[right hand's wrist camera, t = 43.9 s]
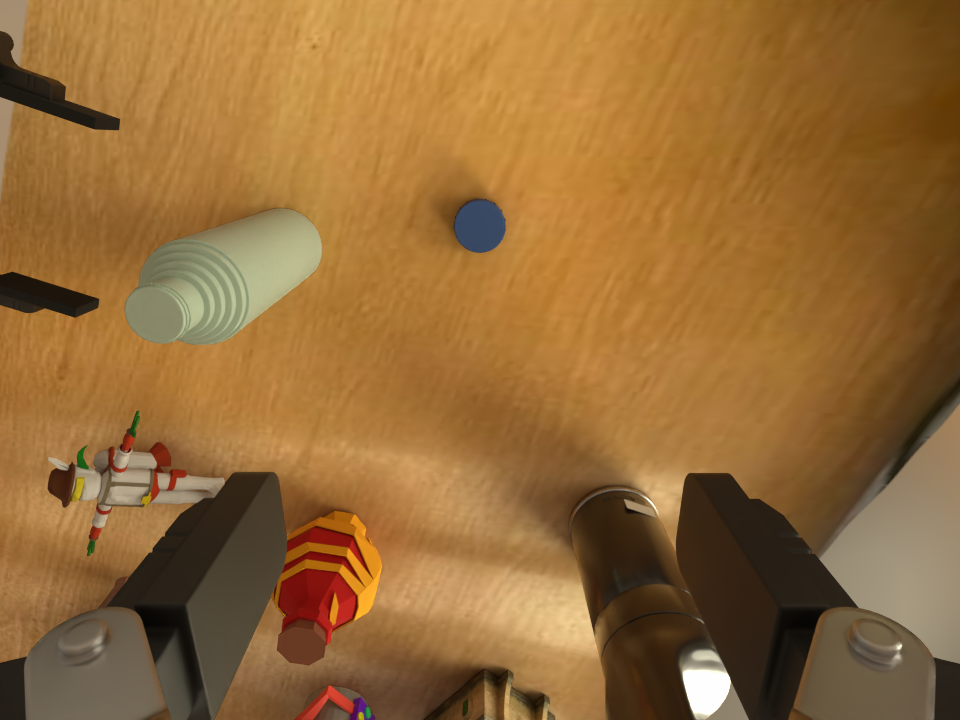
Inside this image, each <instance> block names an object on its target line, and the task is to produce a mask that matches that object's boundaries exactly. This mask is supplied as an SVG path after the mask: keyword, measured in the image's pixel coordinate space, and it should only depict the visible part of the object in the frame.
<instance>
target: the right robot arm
mask: <svg viewBox="0 0 960 720" xmlns="http://www.w3.org/2000/svg"><path fill="white" fill-rule="evenodd" d="M569 533H570V537H571V541H572V543H573V546H574V550H575V554H576V559H577V564H578V568H579V572H580V576H581V581H582V585H583V589H584V593H585V598H586V602H587V606H588V610H589V615H590V619H591V623H592V627H593V632H594V636H595V640H596V644H597V648H598V652H599V657H600V661H601V665H602V671H603V675H604V680H605V710H606V720H705V719H706V718H708V717H709V716H710V715H712V714H713V713H714V712H715V711H716V710H717V709H718V708H719V707H720V705H721V704H722V703H723V701H724V699H725V698H726V696H727V694H728V691H729V688H730V682H732V684H733V686H734V688H735V691H736V693H737V695H738V697H739V699H740V701H741V703H742V705H743V708H744V710H745V712H746V714H747V716H748V718H749V720H960V664H958V663H954V662H950V661H945V660H941V659H938V658H934V657H933V656H932V654H931V653H930V651H929V649H928V648H927V647H926V646H925V645H924V643H923V642H922V641H921V640H920V639H919V638H918V637H916V636H915V635H914V634H913V633H912V632H910V631H909V630H908V629H906V628H905V627H903V626H902V625H900V624H899V623H897V622H895V621H893V620H891V619H889V618H887V617H885V616H883V615H880V614H878V613H875V612H872V611H869V610H865V609H861V608H858V607H857V605H856V604H855V603H854V602H853V600H852V599H851V598H850V597H849V595H848V594H847V593H846V592H845V591H844V589H843V588H842V587H841V586H840V584H839V583H838V582H837V581H836V579H835V578H834V577H833V576H832V575H831V573H830V572H829V571H828V570H827V568H826V567H825V566H824V565H823V564H822V562H821V561H820V560H819V559H818V557H817V556H816V555H815V554H812V552H811V549H810V548H809V546H808V545H807V544H806V543H805V541H804V540H803V539H802V538H799V534H798V533H797V532H796V530H795V529H794V528H793V527H792V525H791V524H790V523H789V522H788V520H787V519H786V518H785V517H784V516H783V515H782V514H781V513H779V512H778V511H776V510H775V509H773V508H772V507H770V506H769V505H767V504H766V503H764V502H763V501H761V500H760V499H749V498H748V496H747V495H746V494H745V492H744V491H743V490H742V488H741V487H740V486H739V484H738V483H737V482H736V481H735V479H734V478H733V477H732V476H731V475H730V474H728V473H689V474H688V475H687V476H686V478H685V481H684V487H683V494H682V501H681V508H680V515H679V522H678V529H677V537H676V551H675V549H674V547H673V545H672V543H671V541H670V538H669V536H668V534H667V532H666V530H665V528H664V526H663V524H662V522H661V519H660V516H659V513H658V511H657V509H656V507H655V505H654V503H653V502H652V501H651V499H650V498H649V497H648V496H646V495H645V494H644V493H642V492H640V491H639V490H636V489H634V488H630V487H626V486H609V487H604V488H600V489H598V490H595V491H593V492H591V493H589V494H588V495H586V496H585V497H584V498H583V499H582V500H580V501H579V503H578V504H577V505H576V506H575V508H574V510H573V511H572V514H571V516H570V520H569ZM286 554H287V536H286V529H285V521H284V514H283V507H282V500H281V492H280V485H279V480H278V477H277V475H276V474H275V473H274V472H235V473H233V474H232V475H231V476H230V477H229V479H228V480H227V481H226V483H225V484H224V485H223V487H222V488H221V489H220V491H219V492H218V493H217V495H216V496H215V497H214V498H203V499H202V500H200V501H199V502H197V503H196V504H195V505H193V506H192V507H190V508H189V509H187V510H186V511H184V512H183V513H181V514H180V515H179V516H178V518H177V519H176V520H175V521H174V523H173V524H172V525H171V526H170V528H169V529H168V530H167V531H166V533H165V537H162V538H161V539H160V540H159V541H158V543H157V544H156V545H155V546H154V547H153V551H152V553H149V554H148V555H147V556H146V557H145V559H144V560H143V561H142V562H141V564H140V565H139V566H138V567H137V569H136V570H135V571H134V572H133V574H132V575H131V576H130V577H129V578H128V580H127V581H126V582H125V583H124V585H123V586H122V587H121V588H120V590H119V591H118V592H117V593H116V595H115V596H114V597H113V598H112V600H111V601H110V602H109V603H108V605H107V606H106V607H105V608H99V609H95V610H91V611H88V612H85V613H82V614H80V615H77V616H75V617H73V618H71V619H69V620H67V621H65V622H63V623H61V624H60V625H58V626H57V627H55V628H54V629H52V630H51V631H50V632H48V633H47V634H46V635H45V636H43V637H42V638H41V639H40V640H39V641H38V642H37V643H36V645H35V646H34V647H33V648H32V649H31V651H30V653H29V654H28V656H27V657H23V658H19V659H15V660H11V661H6V662H2V663H0V720H214V719H215V717H216V715H217V712H218V710H219V708H220V706H221V704H222V702H223V699H224V697H225V695H226V693H227V691H228V689H229V686H230V684H231V682H232V680H233V678H234V676H235V673H236V671H237V669H238V667H239V665H240V663H241V660H242V658H243V656H244V654H245V652H246V650H247V647H248V645H249V643H250V641H251V639H252V636H253V634H254V632H255V630H256V628H257V626H258V623H259V621H260V619H261V617H262V615H263V613H264V610H265V608H266V606H267V604H268V602H269V600H270V597H271V595H272V593H273V591H274V589H275V587H276V584H277V582H278V580H279V578H280V576H281V574H282V571H283V568H284V565H285V560H286Z"/></svg>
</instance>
